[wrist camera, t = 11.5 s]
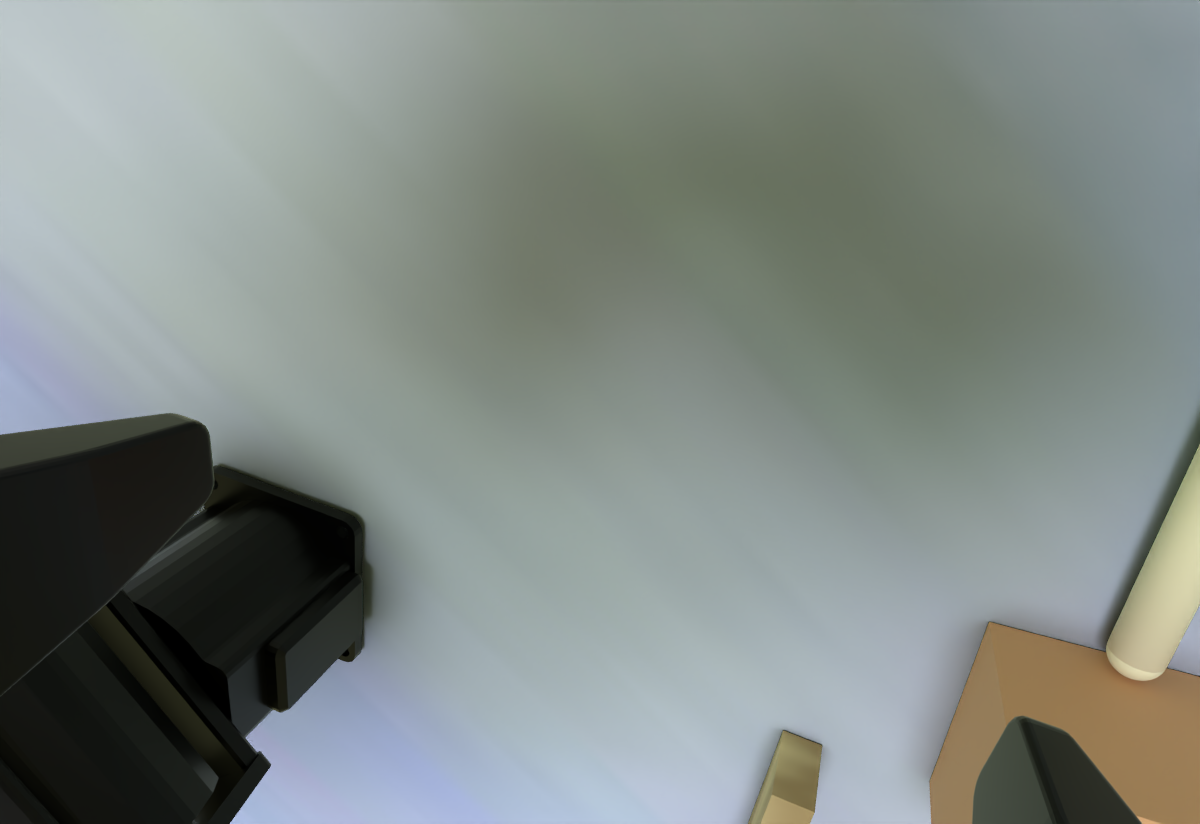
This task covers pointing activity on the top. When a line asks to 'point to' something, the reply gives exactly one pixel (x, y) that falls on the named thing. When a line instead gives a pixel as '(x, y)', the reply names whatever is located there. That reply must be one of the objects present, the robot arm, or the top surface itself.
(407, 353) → the top surface
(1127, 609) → the block
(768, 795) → the shelf lane
